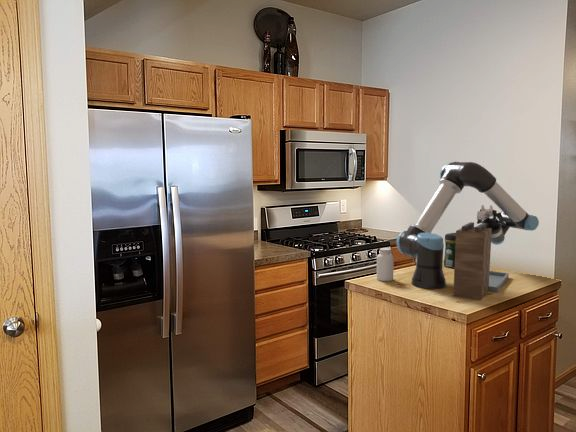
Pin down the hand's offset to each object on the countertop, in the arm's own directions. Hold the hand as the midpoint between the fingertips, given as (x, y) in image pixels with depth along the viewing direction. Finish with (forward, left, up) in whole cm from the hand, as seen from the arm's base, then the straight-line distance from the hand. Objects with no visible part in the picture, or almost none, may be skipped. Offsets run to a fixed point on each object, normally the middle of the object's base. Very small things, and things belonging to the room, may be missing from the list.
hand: (486, 207), depth 213 cm
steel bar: (-1, -2, -4) cm, 5 cm away
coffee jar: (-10, +30, -35) cm, 48 cm away
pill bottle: (-45, -7, -35) cm, 58 cm away
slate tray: (0, 0, -35) cm, 35 cm away
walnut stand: (-8, -23, -35) cm, 43 cm away
